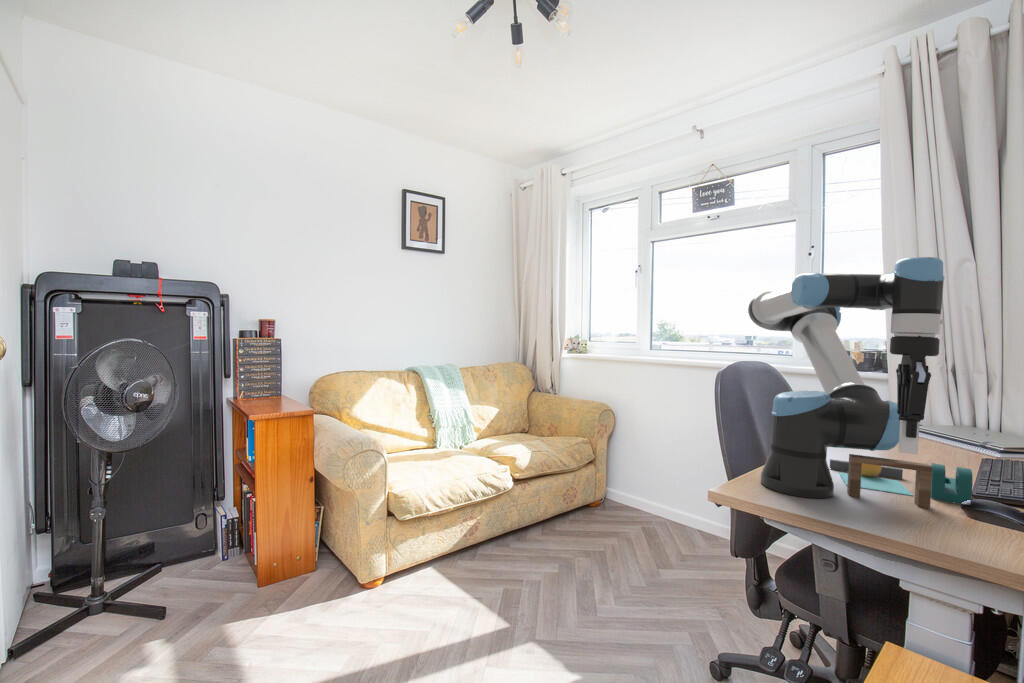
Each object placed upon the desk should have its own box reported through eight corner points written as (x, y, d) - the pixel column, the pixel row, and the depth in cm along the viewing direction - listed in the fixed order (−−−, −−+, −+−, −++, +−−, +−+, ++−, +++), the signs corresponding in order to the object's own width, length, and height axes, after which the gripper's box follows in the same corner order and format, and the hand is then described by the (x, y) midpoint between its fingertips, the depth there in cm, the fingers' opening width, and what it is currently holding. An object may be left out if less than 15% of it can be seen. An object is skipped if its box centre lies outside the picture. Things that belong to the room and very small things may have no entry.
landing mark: (846, 485, 118) (846, 485, 118) (838, 472, 129) (838, 472, 129) (913, 496, 112) (913, 495, 112) (898, 481, 123) (898, 480, 123)
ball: (858, 465, 124) (856, 450, 128) (855, 479, 127) (853, 464, 131) (884, 468, 122) (881, 453, 126) (880, 483, 125) (877, 467, 129)
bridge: (929, 508, 103) (932, 467, 103) (849, 495, 110) (851, 456, 110) (925, 504, 106) (927, 463, 106) (847, 492, 113) (849, 453, 112)
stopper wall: (830, 469, 133) (830, 460, 133) (829, 467, 134) (829, 459, 134) (902, 479, 125) (902, 469, 125) (900, 477, 127) (901, 468, 127)
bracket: (971, 507, 106) (973, 472, 106) (931, 499, 110) (932, 466, 110) (961, 488, 120) (963, 457, 120) (926, 482, 124) (928, 452, 124)
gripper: (951, 336, 87) (943, 463, 88) (928, 336, 99) (921, 448, 99) (899, 334, 91) (892, 456, 91) (883, 335, 102) (877, 443, 103)
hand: (907, 452), depth 95 cm, fingers closed
